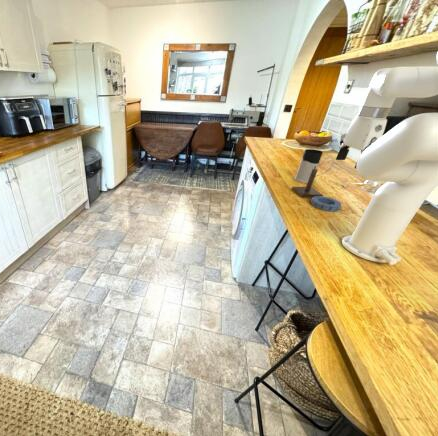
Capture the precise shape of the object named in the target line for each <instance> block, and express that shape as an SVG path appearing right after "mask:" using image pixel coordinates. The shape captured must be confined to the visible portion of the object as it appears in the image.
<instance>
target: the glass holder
mask: <svg viewBox="0 0 438 436" xmlns="http://www.w3.org/2000/svg"><path fill="white" fill-rule="evenodd" d="M323 153H324V152H323V151H322V150H319V149H313V148H306V149H305V150H304V152H303V154H302V157H301V160H300V162H299V165H298V169H297V172H296V175H295V176H294V177H293V180H294V181H297V182H299V183H302V184H303V183H304V184H307V182H308V180H309V177H310V174H311V172H312V169H317V170H318V167H319V165H320V166H321V165H323V164H324V162H325V161H326V159H331V160H332V163H331V166H330V167H329V168H328V169H327V170H326V171H324V172H322V173H320V174H316V176H315V178H316V177H318V176H321V175H324V174H326V173H328V172H329V171H330V170H331V169H332V167H333V166H334V164H335V159H334V158H333V157H331V156H327V157H325V158H324V159H323V160H322V163H320V161H321V158H322V156H323Z"/></svg>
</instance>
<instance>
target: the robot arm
mask: <svg viewBox="0 0 438 436" xmlns="http://www.w3.org/2000/svg"><path fill="white" fill-rule="evenodd" d="M435 58H436V60H435V61H436V64H437V66H434V65H433V66H430V65H429V66H427V65H426V66H421V65H419V66H416V65H415V66H395V67H385V68H380V69H378V70H377V71H375V73H374V74H373V77H372V79H371V81H370V83H369V86H368V88H367V91H366V93H365V95H364V98H363V100H362V103H361V105H360V106H359V109H358V112H357V114H356V115H355V117H354V119H352V122H351V124H350V125H349V127H348V129H347V132H346V133H342V134H341V135H340V140H339V148H338V149H339V150H338V153H337V155H336V157H335V160H336V161H345V160H346V159H347V156H348V155H349V152H350V148H351V149H355V150H358V151H360V156H359V157H358V159H357V161H356V163H355V165H354V169H356V172H357V174H358V176H359V177H360V178H362V179H364V180H372V181H382V182H383V184H381V187H380V188H379V189H378V190H377V191H376V192H375V191H374V194H373V195H372V197H371V199H370V201H369V203H368V204H367V206H366V208H365V210H364V211H363V214H362V216H361V218H360V219H359V221H358V223H357V225H356V227H355V229H354V231H353V233H352V234H349V235H345V236H344V237H343V238H342V240H341V243H342V246H343V247H344V249H346V250H347V251H348V252H350V253H352V254H353V255H355V256H357V257H359V258H361V259H364V260H367V261H370V262H375V263H381V264H383V263H387V264H389V265H390V266H394V265H396V264H398V262H400V261H402V259H403V258H402V257H401V256H399V255H398V254H396V251H397V250H398V246H397V245H396V244H397V242H398V241H399V239H400V238H401V236H402V235H403V233H404V232H405V230H406V229H407V227H408V226H409V224H410V223H411V221H412V220H413V218H414V216H416V214H417V212H418V211H419V210H420V208H421V206H422V205H423V204H424V202H425V201H426V199H427V198H428V197H429V195H430V194H431V193H432V192H433V191H434V190H435V189H436V187H438V112H424V113H418V114H415V115H411V116H410V117H408V118H407V117H406V118H405V119H403V120H402V121H400V122H399V123H398V124H396V125H395V126H393V127H392V128H391V129H389V130H388V131H386V133H385V130H386V127H387V123H388V119H387V117H388V116H389V114H390V111H391V109H392V107H393V105H394V103H395V101H396V99H397V98H410V99H411V98H412V99H413V98H414V99H425V98H432V97H435V96H438V52H437V53H436V57H435Z"/></svg>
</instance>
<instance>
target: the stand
mask: <svg viewBox="0 0 438 436" xmlns="http://www.w3.org/2000/svg"><path fill="white" fill-rule="evenodd" d="M318 171H319V169H318V168H317V169H312V172H311V174H310V177H309V180H308V182H307V183H306V186H292V187H291V191H293V192H294V193H295V194H296V195H298V196H299V197H300V198H302V199H303V198H304V199H305V198H306V199H308V198H309V199H312V198H313V197H315V196H322V197H323V196H324V194H323V193H321V192H319V190H317V189H315V187H312V186H313V184H314V181H315V179H316V177H317V173H318ZM315 176H316V177H315Z"/></svg>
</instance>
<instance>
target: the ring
mask: <svg viewBox="0 0 438 436" xmlns="http://www.w3.org/2000/svg"><path fill="white" fill-rule="evenodd" d="M310 205H311V206H313V207H314V208H317V209H319V210H322V211H327V212H338V211H339V210H340V209H341V207H342V202H341V201H339V200H337V199H335V198H332V197H329V196H324V195H323V196H315V197H313V198H311V199H310Z"/></svg>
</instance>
